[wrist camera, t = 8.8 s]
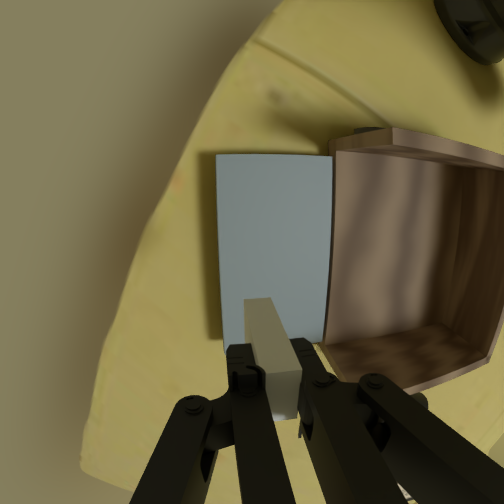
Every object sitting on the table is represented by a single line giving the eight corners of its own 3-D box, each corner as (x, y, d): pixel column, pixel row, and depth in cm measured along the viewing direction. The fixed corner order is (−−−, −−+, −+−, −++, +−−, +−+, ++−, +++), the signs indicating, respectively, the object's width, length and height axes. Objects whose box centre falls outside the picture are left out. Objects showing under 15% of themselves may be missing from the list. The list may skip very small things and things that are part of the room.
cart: (458, 150, 30) (527, 153, 19) (435, 329, 37) (485, 370, 26) (328, 129, 28) (391, 110, 16) (317, 352, 35) (354, 418, 23)
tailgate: (332, 156, 27) (216, 154, 25) (322, 341, 32) (224, 354, 30) (323, 157, 29) (214, 155, 27) (315, 333, 34) (222, 344, 32)
